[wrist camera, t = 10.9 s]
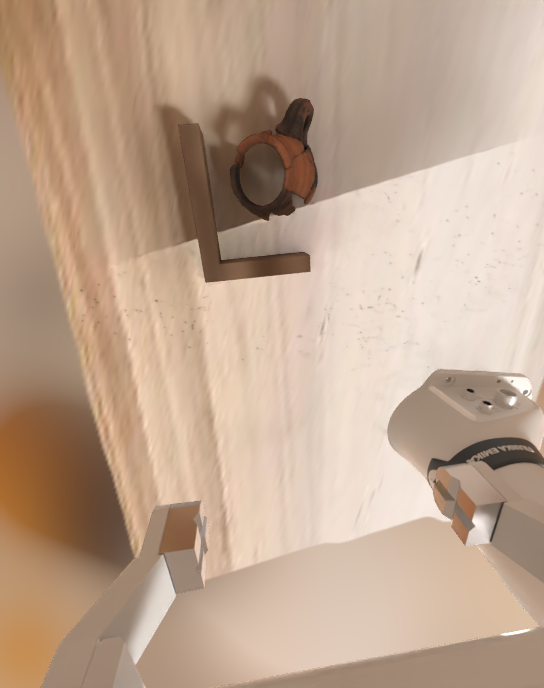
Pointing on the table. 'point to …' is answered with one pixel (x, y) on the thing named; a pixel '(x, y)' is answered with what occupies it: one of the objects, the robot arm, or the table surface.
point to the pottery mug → (294, 158)
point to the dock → (207, 224)
